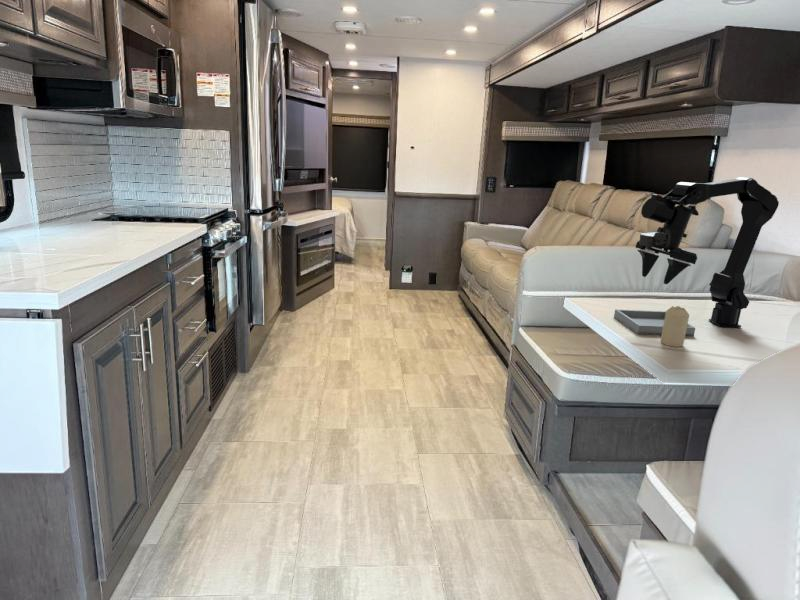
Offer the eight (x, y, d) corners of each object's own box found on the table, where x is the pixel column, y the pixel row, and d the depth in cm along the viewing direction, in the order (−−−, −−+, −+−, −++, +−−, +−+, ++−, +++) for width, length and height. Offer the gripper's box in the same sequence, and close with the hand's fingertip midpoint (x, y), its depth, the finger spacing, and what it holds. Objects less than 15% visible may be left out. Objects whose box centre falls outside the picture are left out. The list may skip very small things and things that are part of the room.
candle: (659, 344, 145) (666, 307, 142) (661, 338, 150) (667, 303, 147) (682, 348, 143) (690, 311, 140) (683, 342, 147) (690, 306, 145)
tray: (664, 319, 169) (666, 311, 168) (693, 336, 153) (695, 327, 153) (613, 317, 168) (615, 309, 167) (637, 334, 153) (639, 325, 152)
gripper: (630, 215, 160) (611, 267, 163) (674, 224, 143) (653, 281, 146) (660, 225, 163) (642, 275, 166) (708, 235, 146) (686, 290, 149)
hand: (654, 280), depth 157 cm, fingers open, 9 cm apart
